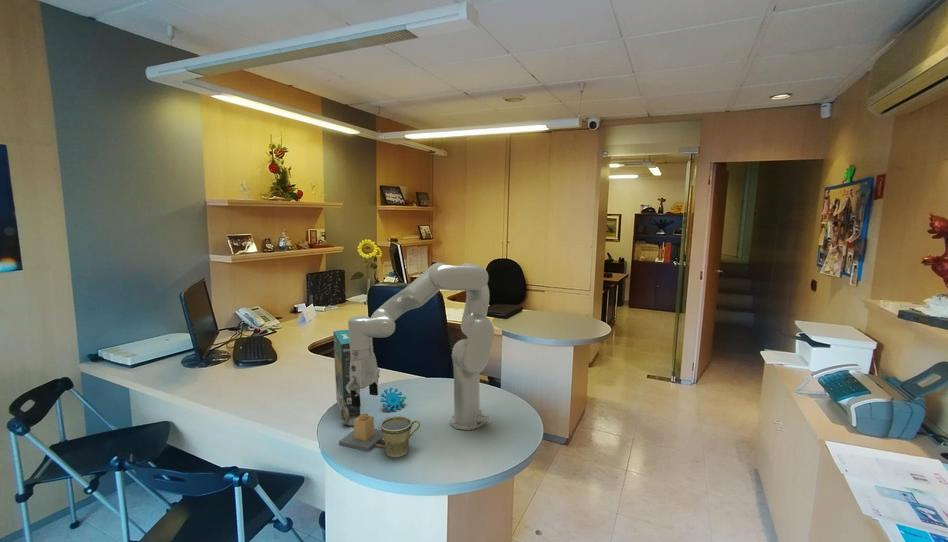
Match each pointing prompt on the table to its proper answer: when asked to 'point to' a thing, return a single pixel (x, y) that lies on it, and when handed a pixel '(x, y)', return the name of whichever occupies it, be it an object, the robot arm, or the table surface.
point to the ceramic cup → (397, 435)
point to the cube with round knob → (363, 427)
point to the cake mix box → (343, 371)
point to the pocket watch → (347, 416)
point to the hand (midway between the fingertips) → (365, 400)
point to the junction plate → (362, 444)
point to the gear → (393, 399)
